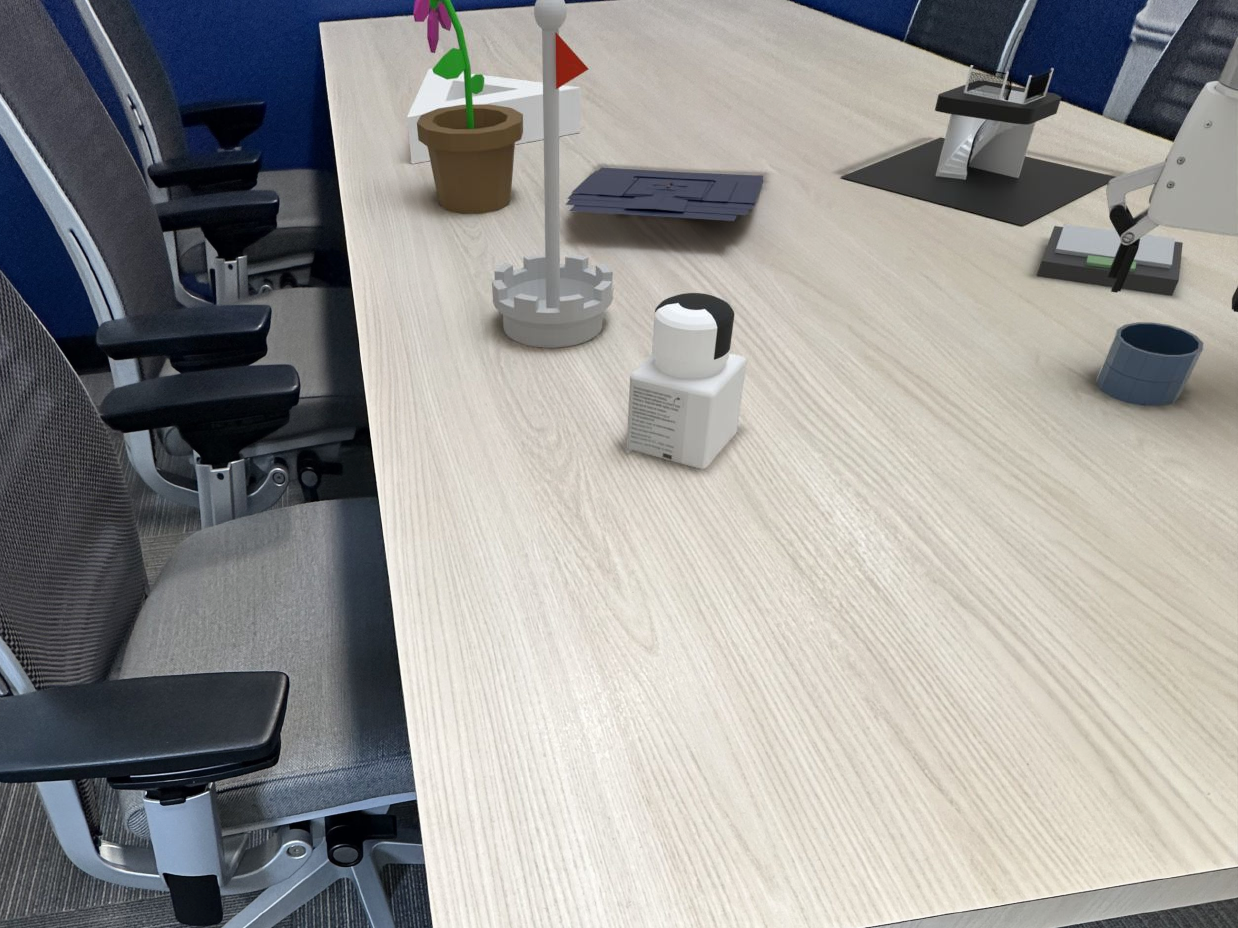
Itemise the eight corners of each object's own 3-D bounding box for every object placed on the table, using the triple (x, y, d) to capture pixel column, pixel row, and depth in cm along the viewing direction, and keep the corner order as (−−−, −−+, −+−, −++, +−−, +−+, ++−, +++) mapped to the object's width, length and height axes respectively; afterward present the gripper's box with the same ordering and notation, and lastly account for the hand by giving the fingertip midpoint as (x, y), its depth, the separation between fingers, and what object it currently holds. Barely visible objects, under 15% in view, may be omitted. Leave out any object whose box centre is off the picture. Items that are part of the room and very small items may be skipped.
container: (661, 416, 91) (672, 277, 82) (737, 436, 89) (757, 294, 79) (624, 454, 87) (631, 311, 78) (703, 476, 84) (720, 330, 75)
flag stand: (470, 324, 107) (446, -7, 86) (558, 291, 113) (556, -27, 91) (546, 363, 100) (541, 12, 78) (636, 326, 105) (654, -11, 84)
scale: (1173, 263, 114) (1185, 237, 112) (1169, 302, 106) (1181, 275, 104) (1047, 246, 118) (1056, 221, 116) (1034, 281, 111) (1043, 256, 109)
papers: (553, 234, 122) (554, 202, 120) (598, 187, 145) (600, 160, 142) (746, 246, 117) (751, 213, 115) (762, 196, 140) (766, 168, 138)
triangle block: (432, 110, 169) (429, 68, 164) (580, 107, 168) (580, 64, 163) (411, 164, 148) (406, 117, 143) (580, 161, 147) (580, 113, 142)
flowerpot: (448, 181, 142) (427, -80, 120) (539, 189, 138) (535, -79, 117) (407, 213, 132) (377, -63, 111) (504, 223, 129) (493, -61, 107)
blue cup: (1177, 384, 93) (1204, 330, 89) (1174, 418, 89) (1202, 362, 85) (1097, 370, 96) (1119, 317, 92) (1090, 402, 91) (1113, 347, 87)
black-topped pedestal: (839, 178, 138) (860, 69, 129) (940, 138, 150) (965, 35, 140) (1022, 226, 123) (1060, 107, 114) (1118, 178, 135) (1160, 66, 125)
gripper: (1408, 71, 73) (1284, 298, 85) (1157, 50, 78) (1075, 265, 91) (1420, 95, 68) (1287, 331, 80) (1152, 71, 74) (1066, 295, 86)
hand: (1174, 296), depth 86 cm, fingers open, 9 cm apart
